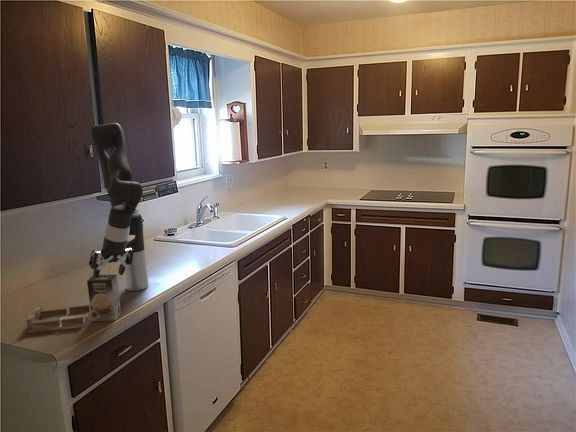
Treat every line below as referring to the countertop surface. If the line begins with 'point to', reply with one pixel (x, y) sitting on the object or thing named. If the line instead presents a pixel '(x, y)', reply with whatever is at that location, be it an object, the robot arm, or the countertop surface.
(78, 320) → the wooden tray
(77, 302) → the countertop surface
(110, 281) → the coffee box
